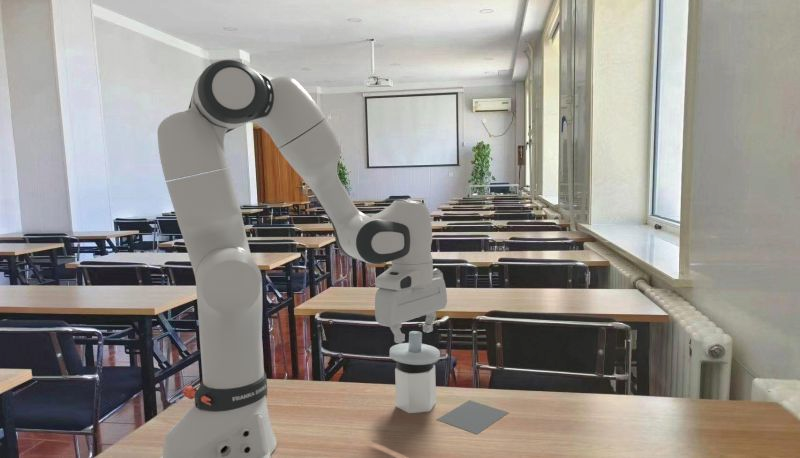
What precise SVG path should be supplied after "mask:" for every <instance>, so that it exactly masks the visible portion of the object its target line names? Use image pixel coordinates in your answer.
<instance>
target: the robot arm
mask: <svg viewBox="0 0 800 458" xmlns="http://www.w3.org/2000/svg"><path fill="white" fill-rule="evenodd" d="M248 123H253V124H255V125H258V126H259V127H260V128H262V129H263V130H264V131H265V132H266V134H268V135H269V137H270V139H271V140H272V142H273V143H274V145H275V147H276V148H278V150H279V152H280V154H281V155H282V156H283V158H284V159H285V161H287V163H288V164H289V165H290V167H291V168H292V169H293V170H294V171H295V173H297V174H298V175H299V176H300V179H302V180H303V181H304V183H305V184H306V185H307V186H308V187H309V189H310V190H311V192H312V193H313V195H314V196H315V199H316V200H317V201H318V203H319V204H320V207H321V208H322V209H323V211H324V213H325V215H326V216H327V217H328V219H329V221H330V223H331V225H332V229H333V234H334V239H335V240H334V241H335V243H336V246H337V248H338V250H339V251H340V252H341V253H342V255H344V256H346V257H347V258H350V259H351V260H352V259H353V260H358V261H361V262H364V263H367V264H369V265H370V264H371V265H381V264H385V263H389V262H391V266H389V267H388V268H387V269H386V270H385V271H384V272H382V273H380V274H379V275H378V276H377V277H376V278H375V280H374V285H375V287H376V288H378V289H377V291H376V293H375V297H374V315H375V321H376V322H377V323H378V325H379V326H383V327H389V328H390V331H391V332H392V334H393V337H394V338H393V339H394V340H393V341H394V343H396V344H401V343H406V342H405V341H406V339H405V338H406V334H405V333H402V331H401V329H402V326H403V325H402V324H403V323H405V322H408V321H411V320H414V319H416V318H420V317H423V316H426V317H425V321H424V323H422V333H423V332H424V333H426V334H427V333H431V332H433V331H434V322H435V320H436V317H437V312H438V311H441V310H444V309H445V308H447V307H446V306H447V304H448V296H447V287H446V283H445V282H446V281H445V279H444V275H443V274H444V273H443V272H442V271H441V270H440V269H439V268H434V263H433V256H432V255H433V254H432V252H431V247H432V243H433V232H432V231H433V227H432V217H431V213H430V209H429V207H428V206H427V205H426V203H424V202H421V201H418V200H412V199H411V200H408V199H401V198H400V199H395V200H394V201H392V203H390V205H388V206H387V207H386V208H384V209H383V210H381V211H380V212H377V213H375V214H373V215H371V216H369V215H367V214H365V213H363V212H362V211H361V210H359V209H358V207H356V205H355V203H354V201H353V200H352V198H351V196H350V195H349V193H348V192H347V189H346V188H345V186H344V184H343V183H342V181H341V179H340V177H339V173H338V166H339V161H340V158H341V153H342V148H341V147H342V146H341V144H340V141H339V139H338V137H337V135H336V132H335V130H334V127H333V126H332V125H331V123H330V121H329V120H328V119H327V117H326V115H325V114H324V112H323V110H322V109H321V108H320V106H318V104H317V102H316V101H315V99H313V97H311V95H310V93H309V92H307V90H306V89H305V88H304V87H303V86H302V85H301V84H300V83H299V82H298V81H297V80H296V79H295V78H293V77H290V76H278V77H274V78H271V79H270V78H268V77H267V76H266V75H263V74H261V73H260V72H258V71H256V70H255V69H254V68H252V67H250V66H249V65H247V64H245V63H243V62H241V61H238V60H234V59H222V60H218V61H215V62H213V63H211V64H209V65H208V66H207V67H205V69H204V70H203V71H202V73H201V74H200V75H199V76H198V78H197V80H196V82H195V83H194V86H193V91H192V95H191V99H190V102H189V105H188V109H187V110H185V111H178V112H175V113H173V114H170V115H169V116H167V117H165V118H164V119H163V120H162V121H161V122H160V123H159V125H158V127H157V143H158V144H157V145H158V152H159V158H160V159H159V160H160V164H161V165H160V166H161V169H162V172H163V173H162V174H163V178H164V181H165V183H166V186H167V190H168V195H169V197H170V200H171V205H172V208H173V210H174V214H175V217H176V220H177V224H178V227H179V230H180V233H181V236H182V239H183V241H184V245H185V249H186V251H187V254H188V257H189V261H190V264H191V268H192V271H193V274H194V278H195V279H194V280H195V287H196V288H195V289H196V303H197V316H198V328H199V330H198V332H199V347H200V358H201V360H200V361H201V375H202V380H201V382H200V384H199V387H198V389H197V388H196V387H193V386H191V385H187V386H185V387H184V389H183V390H182V394H183V397H186V398H187V399H189V400H193V399H194V404H193V405H192V406H191V408H190V409H189V410H188V411H187V412H186V413H185V414H184V415H183V416H182V417H181V418H180V419H179V421H178V422H177V423H175V424H174V426H173V427H171V429H170V430H169V431H168V432H167V433H166V435H165V438H164V441H163V445H162V446H163V448H162V455H161V456H160V457H159V458H272V457H271V455H272V453H273V452H274V450H275V449H276V448H277V444H278V442H277V438H276V435H275V433H274V431H273V427H272V424H271V420H270V415H269V409H268V402H267V396H268V382H267V381H268V380H267V373H266V372H265V369H264V352H263V351H264V350H263V349H264V348H263V337H262V336H263V333H262V332H263V277H262V271H261V269H260V268H259V265H257V263H256V262H255V260H254V258H253V257H252V254H251V253H252V252H251V249H250V245H249V241H248V237H247V233H246V229H245V224H244V219H243V218H244V217H243V214H242V209H241V205H240V201H239V198H238V195H237V193H238V192H237V190H236V187H235V184H234V179H233V175H232V173H231V168H230V164H229V162H228V161H229V160H228V159H227V155H226V152H225V145H224V144H225V136H226V134H228V133H229V132H231V131H233V130H235V129H237V128H240V127H244V126H245V125H246V124H248Z"/></svg>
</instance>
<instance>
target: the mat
mask: <svg viewBox="0 0 800 458" xmlns="http://www.w3.org/2000/svg"><path fill="white" fill-rule="evenodd" d="M508 414H510V412H508V411H506V410H502V409H498V408H496V407H493V406H489V405H487V404H483V403H479V402H476V401H474V400H467V401H465V402H464V403H462V404H460V405H459V406H456V407H455V408H454V409H452V410H450V411H449V412H446V413H445V414H443V415H442V416H440V417H438V418H436V421H438V422H441V423H445V424H447V425H449V426H452V427H455V428H458V429H461V430H463V431H466V432H468V433H472V434H474V435H478V434H480V433H481V432H483V431H484V430H486V429H487V428H489V427H491V426H492V425H493V424H495V423H496V422H498V421H499V420H500V419H502V418H504V417H505V416H507V415H508Z"/></svg>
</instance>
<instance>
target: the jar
mask: <svg viewBox="0 0 800 458" xmlns="http://www.w3.org/2000/svg"><path fill="white" fill-rule="evenodd" d="M394 377H395V403H396V405H395V406H396V408H398V409H400V410H402V411H404V412H406V413H407V414H415V413H416V414H417V413H425V412H431V411H432V409H433V408H434V406H435V405H436V403H437V394H436V393H437V387H436V384H437V383H436V381H437V380H436V365H435V363H432V364H426V365H411V364H404V363H400V362H397V361H396V367H395V368H394Z"/></svg>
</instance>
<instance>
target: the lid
mask: <svg viewBox="0 0 800 458" xmlns="http://www.w3.org/2000/svg"><path fill="white" fill-rule="evenodd" d="M422 340H423V331H418V330H412V331H409V333H408V342H402V343H400V344H399V343H396V344H394V345H392V346H391V347H390V348H389V358H390V359H392V360H393V361H395V362H396V363H397V362H400V363H404V364H411V365H426V364H432V363H434V364H435V363H437V362H438V361H439V360H440V357H441V351H440V349H438V348H437V347H435V346H433V345H429V344H425V343H422V342H423V341H422Z"/></svg>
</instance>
